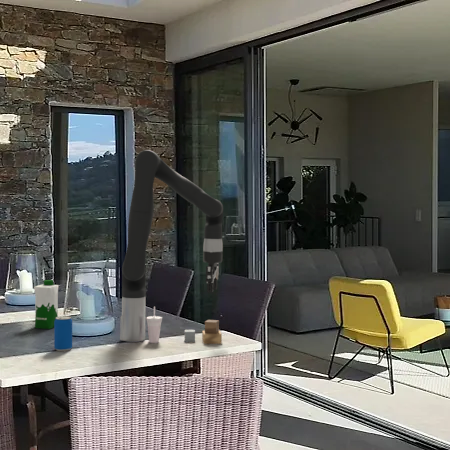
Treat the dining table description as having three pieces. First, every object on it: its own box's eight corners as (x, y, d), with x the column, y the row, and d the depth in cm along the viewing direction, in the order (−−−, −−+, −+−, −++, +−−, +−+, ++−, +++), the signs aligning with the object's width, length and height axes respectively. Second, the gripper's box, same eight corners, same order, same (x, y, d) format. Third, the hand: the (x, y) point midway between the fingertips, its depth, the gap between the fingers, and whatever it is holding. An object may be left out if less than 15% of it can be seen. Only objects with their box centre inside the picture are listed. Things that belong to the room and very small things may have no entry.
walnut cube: (215, 333, 262) (216, 322, 261) (204, 333, 263) (204, 321, 262) (218, 331, 266) (218, 320, 266) (207, 330, 267) (207, 319, 267)
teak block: (203, 344, 261) (203, 334, 261) (202, 340, 268) (202, 330, 267) (221, 344, 262) (221, 334, 261) (219, 340, 268) (219, 330, 268)
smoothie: (147, 344, 259) (147, 308, 258) (144, 340, 265) (144, 305, 264) (163, 343, 260) (163, 307, 260) (160, 339, 266) (160, 305, 266)
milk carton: (60, 325, 292) (60, 280, 291) (50, 329, 283) (50, 282, 282) (42, 324, 294) (42, 279, 293) (31, 328, 285) (31, 281, 284)
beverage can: (65, 346, 252) (65, 315, 252) (75, 349, 248) (75, 317, 248) (50, 349, 247) (50, 317, 247) (61, 352, 243) (61, 319, 243)
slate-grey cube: (184, 341, 264) (184, 331, 264) (184, 339, 268) (184, 329, 268) (194, 341, 264) (195, 331, 264) (194, 339, 268) (194, 329, 268)
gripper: (207, 248, 271) (206, 288, 271) (199, 251, 257) (199, 293, 257) (225, 249, 269) (224, 289, 270) (218, 251, 255) (218, 294, 256)
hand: (212, 291), depth 264 cm, fingers open, 8 cm apart
